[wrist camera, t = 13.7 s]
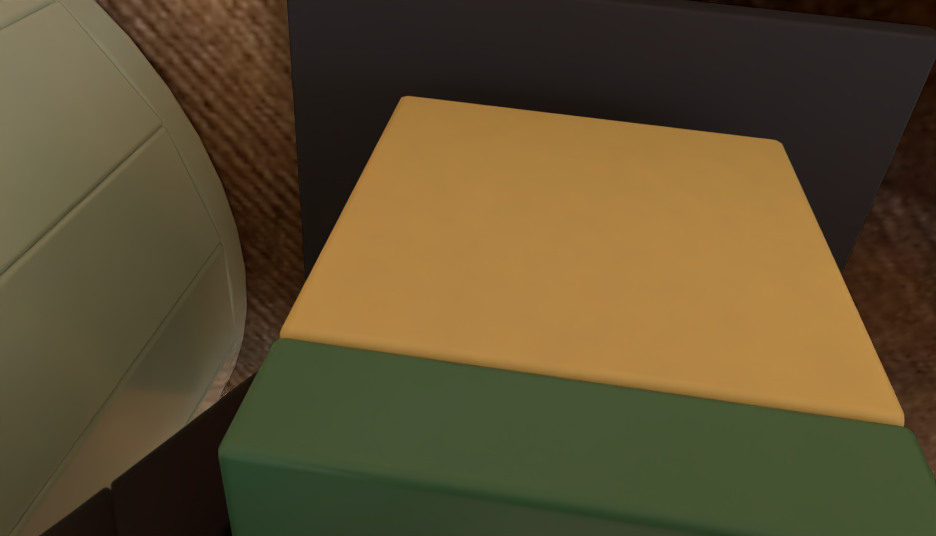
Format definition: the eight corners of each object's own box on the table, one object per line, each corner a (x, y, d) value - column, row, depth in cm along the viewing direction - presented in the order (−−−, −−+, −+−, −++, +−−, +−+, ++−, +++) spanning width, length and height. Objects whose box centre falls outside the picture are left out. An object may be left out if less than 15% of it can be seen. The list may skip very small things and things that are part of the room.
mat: (748, 461, 12) (752, 481, 12) (320, 398, 13) (313, 416, 12) (932, 25, 8) (946, 37, 8) (295, -44, 9) (283, -35, 8)
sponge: (673, 461, 11) (722, 902, 7) (393, 419, 11) (279, 819, 7) (783, 137, 8) (981, 569, 4) (400, 91, 8) (210, 449, 4)
